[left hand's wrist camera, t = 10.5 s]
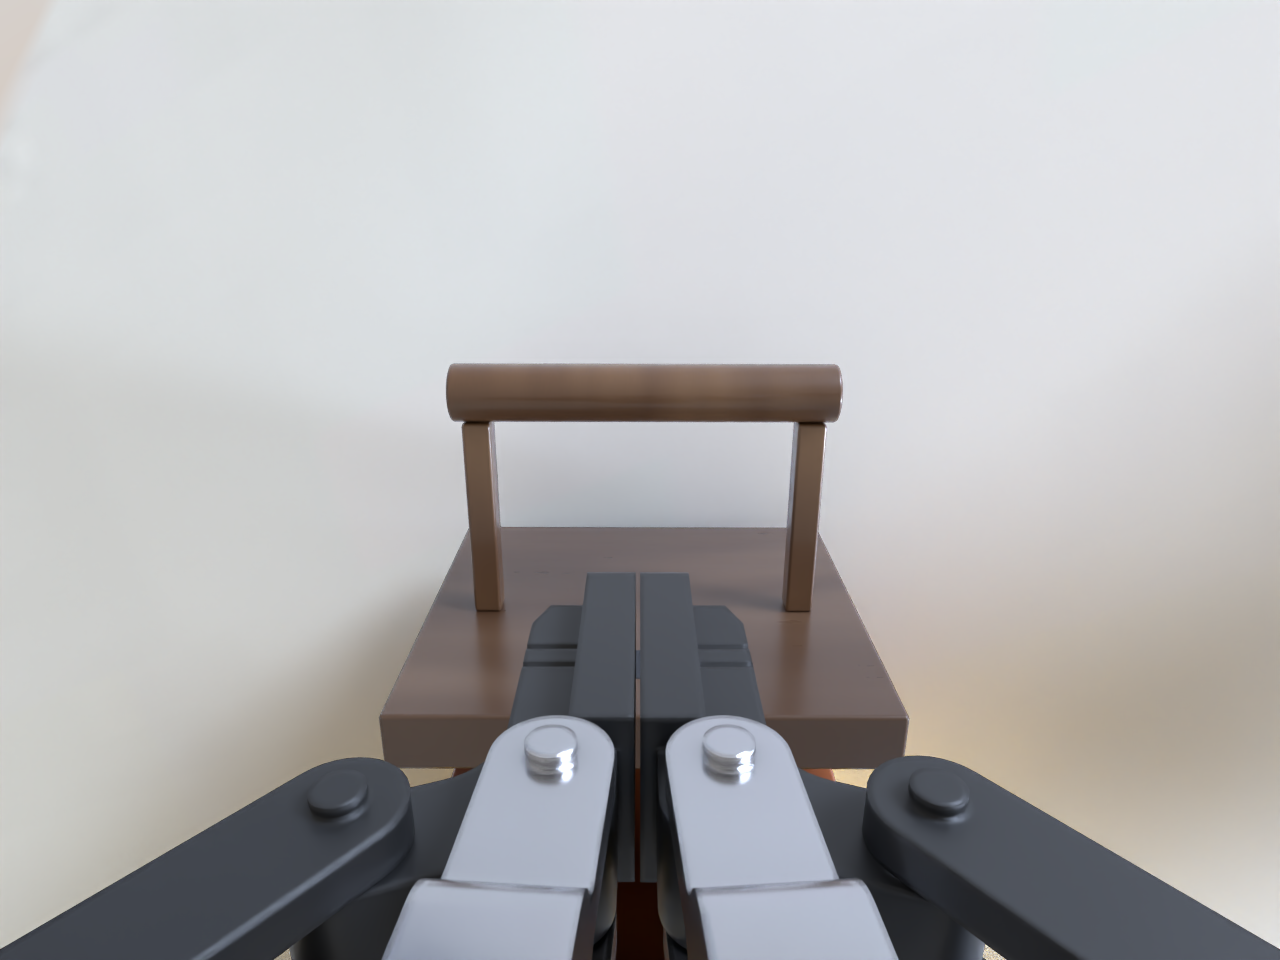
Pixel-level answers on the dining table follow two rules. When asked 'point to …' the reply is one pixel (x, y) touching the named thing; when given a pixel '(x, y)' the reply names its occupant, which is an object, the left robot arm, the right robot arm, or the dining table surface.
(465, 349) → the dining table surface
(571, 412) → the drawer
